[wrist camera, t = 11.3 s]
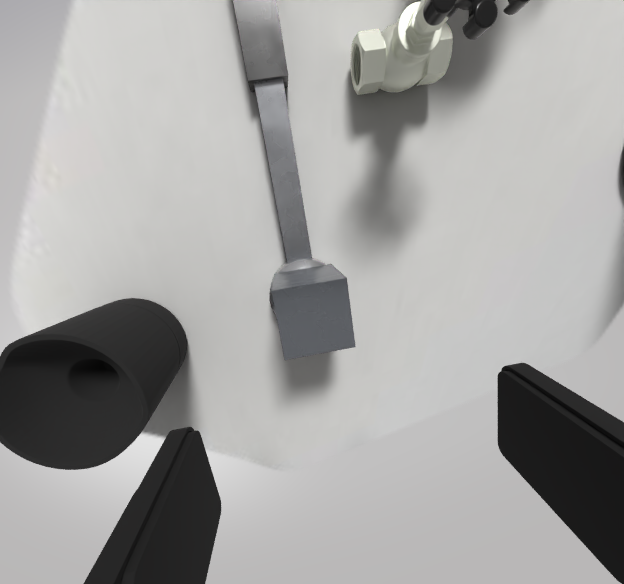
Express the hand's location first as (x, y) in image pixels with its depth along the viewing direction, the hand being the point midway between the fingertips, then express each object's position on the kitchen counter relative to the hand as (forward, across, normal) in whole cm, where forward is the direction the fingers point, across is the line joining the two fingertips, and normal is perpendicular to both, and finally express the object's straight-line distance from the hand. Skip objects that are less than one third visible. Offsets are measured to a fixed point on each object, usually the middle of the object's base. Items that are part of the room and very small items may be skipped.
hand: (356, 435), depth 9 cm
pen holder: (+20, +16, +2) cm, 26 cm away
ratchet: (+20, 0, -11) cm, 22 cm away
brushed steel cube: (+18, 0, 0) cm, 18 cm away
